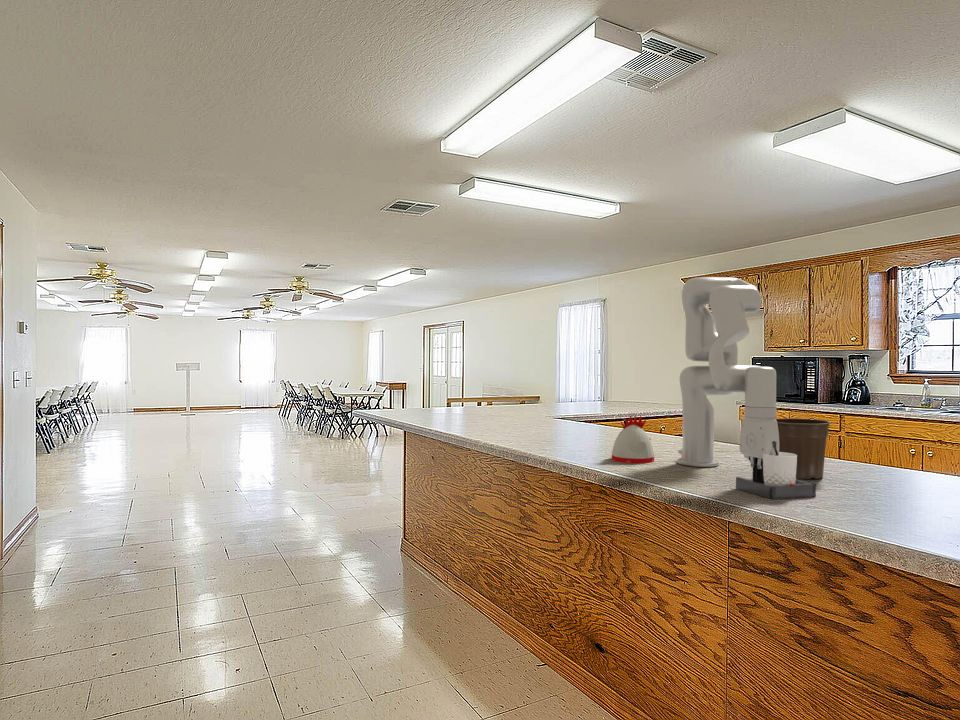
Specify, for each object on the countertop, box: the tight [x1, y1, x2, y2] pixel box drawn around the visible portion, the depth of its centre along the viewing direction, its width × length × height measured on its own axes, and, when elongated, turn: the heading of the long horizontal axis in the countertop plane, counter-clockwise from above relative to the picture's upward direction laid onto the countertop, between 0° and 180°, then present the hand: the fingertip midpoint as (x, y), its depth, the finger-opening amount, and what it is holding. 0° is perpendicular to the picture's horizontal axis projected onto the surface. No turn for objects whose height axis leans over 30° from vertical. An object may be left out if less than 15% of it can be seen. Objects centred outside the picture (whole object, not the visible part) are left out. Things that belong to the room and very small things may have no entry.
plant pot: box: [776, 417, 832, 480], centre depth 180 cm, size 16×16×16 cm
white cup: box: [762, 452, 797, 486], centre depth 157 cm, size 8×8×10 cm
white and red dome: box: [611, 415, 655, 464], centre depth 208 cm, size 14×14×15 cm
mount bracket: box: [735, 476, 817, 500], centre depth 158 cm, size 13×13×3 cm
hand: (759, 483), depth 163 cm, fingers closed
